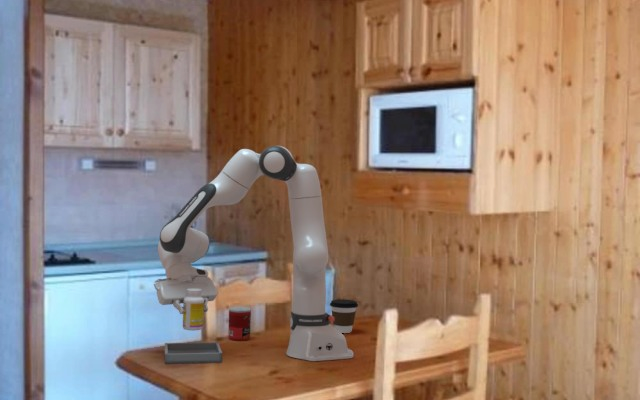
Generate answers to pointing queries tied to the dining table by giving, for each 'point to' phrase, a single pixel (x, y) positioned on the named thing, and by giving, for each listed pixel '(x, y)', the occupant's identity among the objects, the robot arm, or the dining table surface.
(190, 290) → the supplement bottle
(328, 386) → the dining table surface
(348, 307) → the coffee cup
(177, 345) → the tray
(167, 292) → the robot arm
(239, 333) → the canned food
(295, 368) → the dining table surface
